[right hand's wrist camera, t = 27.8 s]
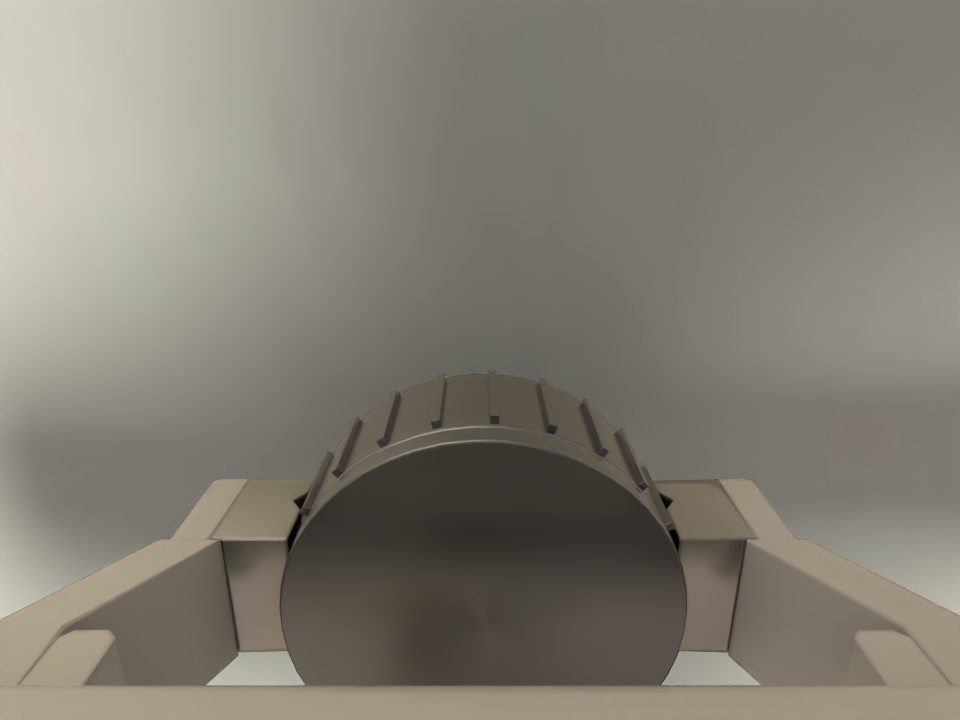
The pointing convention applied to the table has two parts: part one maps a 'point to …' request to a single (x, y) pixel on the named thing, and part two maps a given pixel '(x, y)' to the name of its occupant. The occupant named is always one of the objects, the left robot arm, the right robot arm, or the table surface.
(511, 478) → the lid
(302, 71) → the table surface
